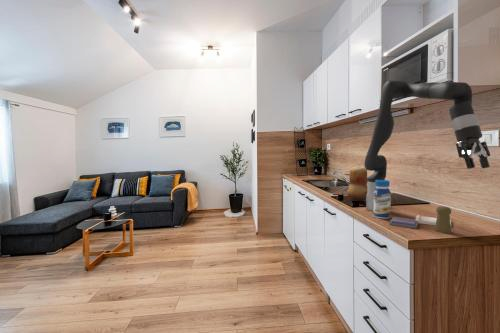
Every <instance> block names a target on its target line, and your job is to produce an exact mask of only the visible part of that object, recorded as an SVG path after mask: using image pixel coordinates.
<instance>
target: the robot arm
mask: <svg viewBox="0 0 500 333" xmlns="http://www.w3.org/2000/svg"><path fill="white" fill-rule="evenodd" d="M381 89H382V90H381V95H380V101H379V106H378V107H379V108H378V112H377V118H376V121H375V124H374V128H373V132H372V136H371V137H372V138H371V141H370V144H369V147H368V150H367V153H366V156H365V158H364V163H363V164H364V167H365V168H366V169H367V171H368V172H369V171H372V172H373V173H372V174H371V175H368V176H367V194H366V199H365V204H366V206H365V210H368V211H371V212H374V199H373V196H374V190H375V188H376V186H375V181H376V180H386V177H387V170H388V169H387V166H388V165H387V164H388V161H387V159H386V157H385V156H384V155H383V154H379V152H380V150H381V148H382V147H383V146H384V145H385V144H386V143H387V141H389V140H390V137H392V134H393V131H394V126H395V120H394V117H393V113H392V103H393V100H399V99H405V98H411V97H414V98H421V99H429V100H430V99H431V100H444V101H445V100H446V101H447V100H449V101H453V102H454V104H453V105H451V106H450V107H449V109H448V111H449V116H450V118H451V122H452V128H453V131H454V136H455V138H456V142H455V146H456V150H457V155H458V158H462V159H463V160H464V162H465V165H466V168H467V169H469V170H470V169H474V168H475V167H476V166H475V162H474V159H473V155H474V156H476V157H477V158H478V160H479V164H480V167H481V169H488V168H491V167H490V163H489V160H488V158H489V157H491V153H490V150H489V146H488V144H487V141H482V142H481V141H480V139H481V138H482V137H483V132H482V130H481V127H480V124H479V120H478V119H477V117H476V114H475V111H474V109H473V106H472V103H473V91H472V90H473V89H472V88H471V85H469V83H467V82H464V81H463V82H461V81H444V82H443V81H442V82H437V81H436V82H420V83H414V82H413V83H412V82H407V81H403V80H388V81H387V80H386V82H385V83H384V84H383V87H382V88H381Z"/></svg>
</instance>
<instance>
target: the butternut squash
mask: <svg viewBox="0 0 500 333" xmlns="http://www.w3.org/2000/svg"><path fill="white" fill-rule="evenodd" d="M348 178H349V186H348V188H347V192H346V194H347V197H348V198H349V200H351V201H353V202H357V201H360V202H359V203H361V202H363V201H366V194H367V178H368V170H367V169H366V168H365V166H362V165H360V166H358V165H357V166H352V167H351V168H350V170H349V176H348Z"/></svg>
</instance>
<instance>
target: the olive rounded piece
mask: <svg viewBox="0 0 500 333" xmlns="http://www.w3.org/2000/svg"><path fill="white" fill-rule="evenodd" d="M435 211H436V213H437V215H436V218H437V220H436V224H435V225H434V231H435V232H437V233H441V234H452V233H453V232H452V222H451V223H450V219H451V217H450V215H451V214H452V209H451V208H450V207H449V206H442V205H441V206H437V207H436V209H435Z"/></svg>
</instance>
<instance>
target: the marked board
mask: <svg viewBox="0 0 500 333" xmlns="http://www.w3.org/2000/svg"><path fill="white" fill-rule="evenodd" d="M414 219H416V221H418V224H421V225H423V224H424V225H429V226H435V224H436V220H437V217H435V216H433V217H432V216H427V215H426V216H425V215H416V216H415V218H414ZM450 223H451V224H452V221H451V218H450Z"/></svg>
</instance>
